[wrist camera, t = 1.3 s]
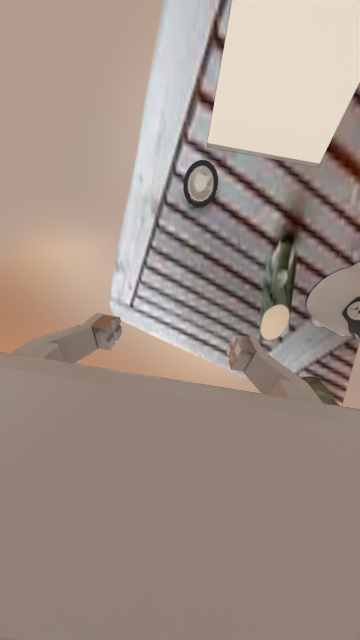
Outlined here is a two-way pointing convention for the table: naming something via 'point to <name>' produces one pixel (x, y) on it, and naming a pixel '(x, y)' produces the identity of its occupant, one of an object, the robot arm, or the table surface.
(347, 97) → the board
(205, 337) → the table surface
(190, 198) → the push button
